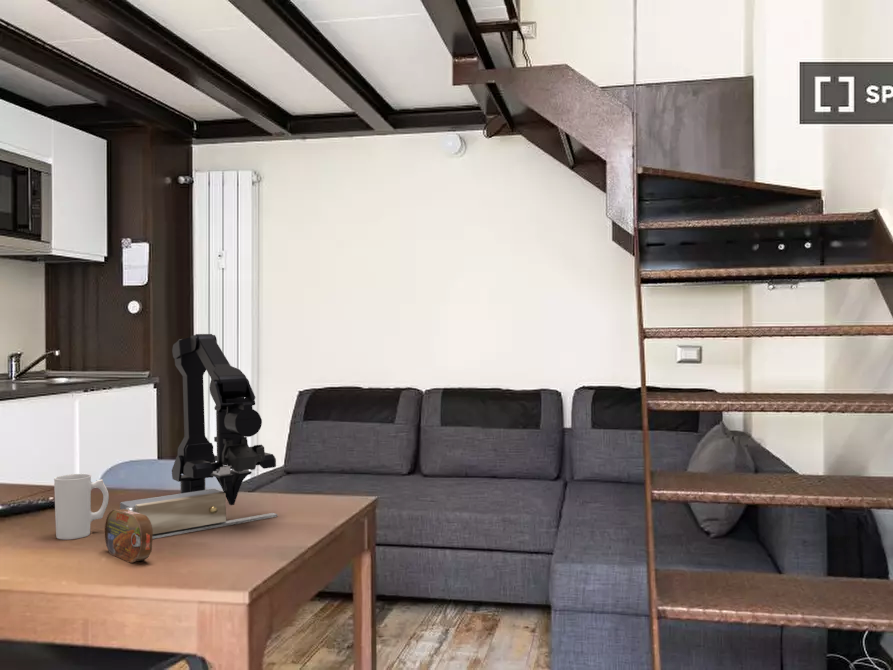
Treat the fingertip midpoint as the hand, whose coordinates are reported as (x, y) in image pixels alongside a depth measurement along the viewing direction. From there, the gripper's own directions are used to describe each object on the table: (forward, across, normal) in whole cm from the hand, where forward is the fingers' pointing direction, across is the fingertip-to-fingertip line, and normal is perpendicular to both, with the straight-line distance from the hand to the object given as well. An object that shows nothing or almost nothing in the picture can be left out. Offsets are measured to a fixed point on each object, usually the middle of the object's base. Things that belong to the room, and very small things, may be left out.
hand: (231, 504), depth 163 cm
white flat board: (+4, -6, 0) cm, 7 cm away
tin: (+4, -25, -10) cm, 27 cm away
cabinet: (+4, -11, +4) cm, 12 cm away
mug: (+4, -27, +12) cm, 30 cm away
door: (+3, -11, 0) cm, 11 cm away
